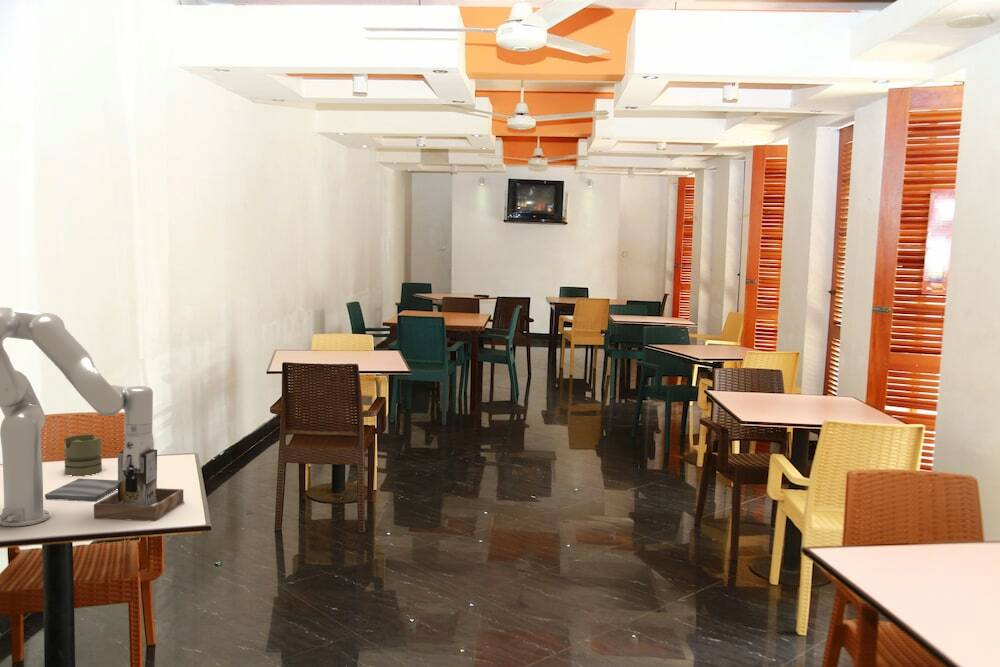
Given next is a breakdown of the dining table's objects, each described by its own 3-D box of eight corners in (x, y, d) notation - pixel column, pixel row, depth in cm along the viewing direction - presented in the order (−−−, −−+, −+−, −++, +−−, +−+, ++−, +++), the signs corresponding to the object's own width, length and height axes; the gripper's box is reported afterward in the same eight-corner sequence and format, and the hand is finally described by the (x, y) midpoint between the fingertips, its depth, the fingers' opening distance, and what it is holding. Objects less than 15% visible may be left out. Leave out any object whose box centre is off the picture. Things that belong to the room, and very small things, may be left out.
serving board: (95, 501, 246) (95, 496, 246) (45, 499, 247) (44, 494, 246) (126, 485, 264) (126, 480, 263) (78, 483, 264) (78, 478, 264)
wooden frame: (155, 520, 229) (155, 507, 229) (94, 518, 230) (93, 504, 230) (183, 502, 247) (183, 489, 247) (126, 499, 248) (126, 486, 248)
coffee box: (157, 502, 241) (158, 449, 240) (146, 508, 235) (147, 454, 234) (128, 499, 242) (129, 447, 241) (116, 506, 236) (117, 451, 234)
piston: (92, 433, 285) (106, 438, 277) (93, 466, 286) (107, 472, 278) (58, 437, 276) (72, 443, 269) (59, 472, 277) (73, 478, 270)
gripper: (136, 435, 228) (135, 497, 229) (164, 423, 245) (163, 481, 246) (110, 433, 228) (109, 495, 230) (140, 422, 245) (139, 479, 247)
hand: (137, 487), depth 238 cm, fingers closed on coffee box, 6 cm apart
